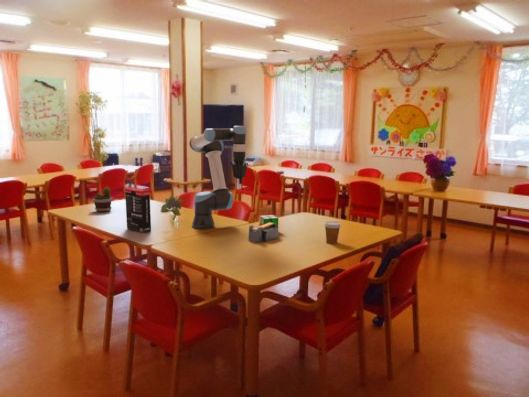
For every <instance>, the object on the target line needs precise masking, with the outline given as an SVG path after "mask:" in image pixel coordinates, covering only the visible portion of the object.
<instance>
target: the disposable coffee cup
mask: <svg viewBox="0 0 529 397" xmlns="http://www.w3.org/2000/svg"><path fill="white" fill-rule="evenodd" d="M341 226H342V225H341V223H340V222H337V221H326V222H325V223H324V227H325V237H326V238H325V239H326V243H327V244H329V245H335V244H337V243H338V239H339V233H340V229H341Z"/></svg>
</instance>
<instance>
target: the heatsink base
mask: <svg viewBox="0 0 529 397" xmlns="http://www.w3.org/2000/svg"><path fill="white" fill-rule="evenodd" d="M268 223H269V222H268ZM270 223H273V222H270ZM261 226H262V225H261ZM257 227H258V232H257V231H252V230H251V229H252V228H257ZM278 238H279V227H278V228H276V223H273V225H271V226H268V227H266V228H263V229H262V227H259V225H258V226H255V227H254V225H253V224H251V225H248V241H249V242H255V243H258V244H259V243H262V242H266V243H267V242H269V241H272V240H275V239H278Z"/></svg>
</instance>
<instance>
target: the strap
mask: <svg viewBox="0 0 529 397" xmlns="http://www.w3.org/2000/svg"><path fill="white" fill-rule="evenodd" d="M271 225H273V223H270V222H269V223H267V224H264V225H262V226H259V225H258V226H259V227H262V229H263V228H266V227H268V226H271ZM258 226H256V227H257V228H254V227H253V228H252V229H251V230H252V231H257V232H258Z"/></svg>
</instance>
